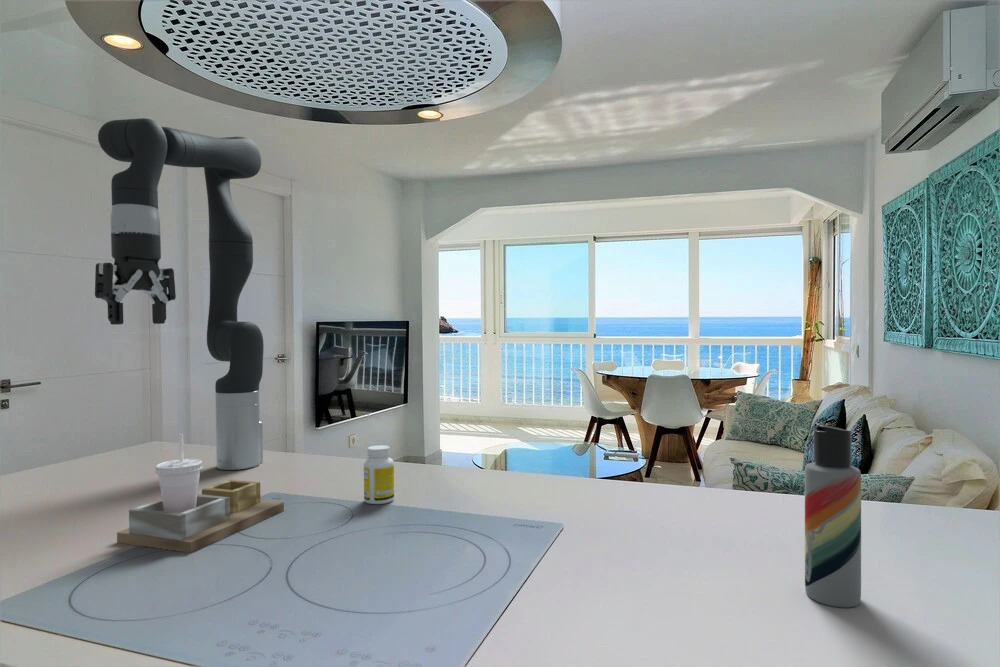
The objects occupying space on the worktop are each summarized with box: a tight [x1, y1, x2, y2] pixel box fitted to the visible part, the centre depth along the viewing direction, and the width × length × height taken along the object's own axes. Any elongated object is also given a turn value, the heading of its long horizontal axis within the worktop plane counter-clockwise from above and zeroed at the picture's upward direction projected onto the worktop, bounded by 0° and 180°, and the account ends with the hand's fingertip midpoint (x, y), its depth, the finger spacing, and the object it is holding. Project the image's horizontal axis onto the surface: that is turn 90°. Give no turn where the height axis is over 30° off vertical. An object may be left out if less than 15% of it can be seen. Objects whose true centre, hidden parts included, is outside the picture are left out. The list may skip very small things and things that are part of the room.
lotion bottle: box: [804, 424, 862, 608], centre depth 69 cm, size 6×6×20 cm
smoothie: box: [154, 433, 204, 513], centre depth 91 cm, size 6×6×14 cm
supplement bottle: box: [363, 444, 395, 505], centre depth 108 cm, size 5×5×10 cm
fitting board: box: [116, 479, 285, 554], centre depth 95 cm, size 20×14×5 cm
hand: (138, 324), depth 106 cm, fingers open, 8 cm apart
